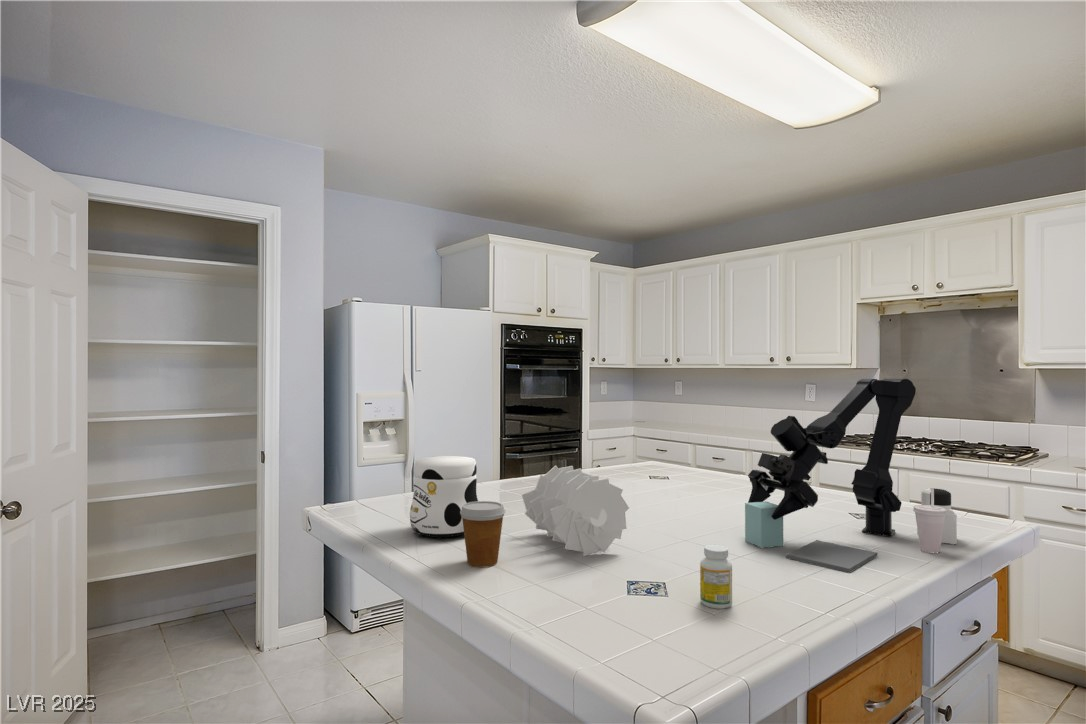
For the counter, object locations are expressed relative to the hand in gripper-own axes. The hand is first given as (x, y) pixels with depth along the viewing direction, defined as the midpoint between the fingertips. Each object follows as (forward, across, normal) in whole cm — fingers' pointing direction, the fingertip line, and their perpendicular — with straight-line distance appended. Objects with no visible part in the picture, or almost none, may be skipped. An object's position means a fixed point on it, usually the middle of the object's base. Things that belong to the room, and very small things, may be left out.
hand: (760, 513), depth 141 cm
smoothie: (-19, +16, +29) cm, 38 cm away
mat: (-1, +13, +11) cm, 17 cm away
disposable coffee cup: (+51, -5, -41) cm, 66 cm away
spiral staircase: (+35, -12, -24) cm, 44 cm away
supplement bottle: (+27, +28, -16) cm, 42 cm away
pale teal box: (+4, 0, +6) cm, 7 cm away
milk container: (+54, -31, -44) cm, 76 cm away
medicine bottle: (-26, +9, +36) cm, 45 cm away
